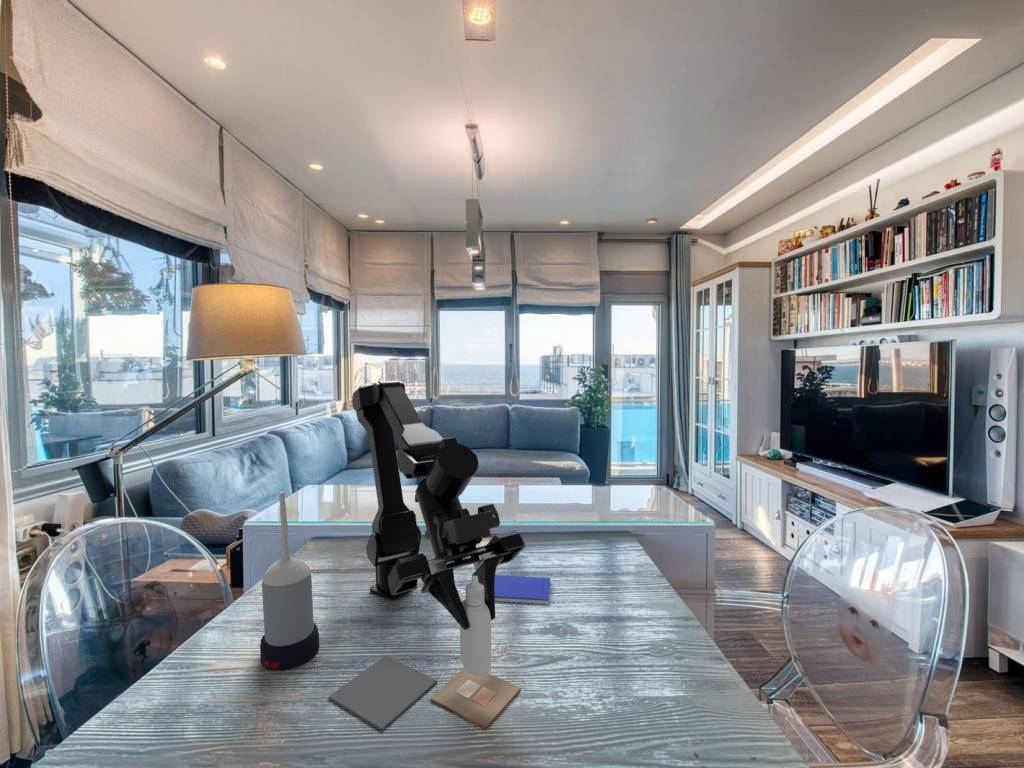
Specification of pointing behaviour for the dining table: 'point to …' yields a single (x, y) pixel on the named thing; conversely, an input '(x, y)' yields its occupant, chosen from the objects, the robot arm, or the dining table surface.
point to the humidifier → (287, 609)
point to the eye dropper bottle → (476, 631)
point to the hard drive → (522, 589)
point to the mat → (383, 691)
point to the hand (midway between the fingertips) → (480, 624)
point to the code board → (476, 696)
